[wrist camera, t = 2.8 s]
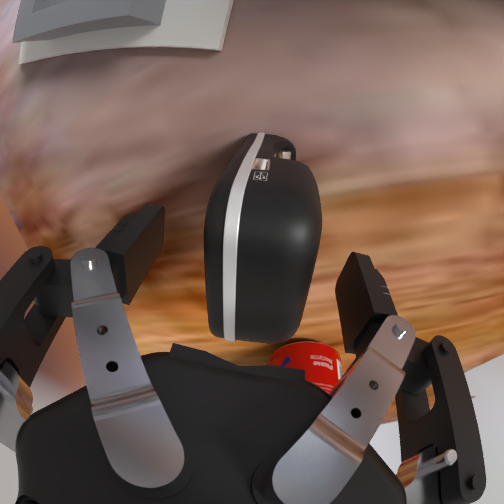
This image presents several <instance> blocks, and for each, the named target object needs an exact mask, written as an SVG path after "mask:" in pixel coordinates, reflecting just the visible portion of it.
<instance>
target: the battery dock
mask: <svg viewBox="0 0 504 504" xmlns="http://www.w3.org/2000/svg"><path fill="white" fill-rule="evenodd" d="M233 2H234V0H21V3H20V7H19V11H18V15H17V20H16V25H15V30H14V36H13V42H12V43H16V42H21V48H20V56H19V64H24V63H29V62H33V61H37V60H41V59H46V58H51V57H56V56H61V55H67V54H73V53H79V52H87V51H95V50H105V49H118V48H138V47H171V48H192V49H205V50H215V51H222V48H223V44H224V39H225V35H226V30H227V26H228V22H229V18H230V14H231V10H232V6H233Z"/></svg>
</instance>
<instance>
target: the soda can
mask: <svg viewBox="0 0 504 504" xmlns="http://www.w3.org/2000/svg"><path fill="white" fill-rule="evenodd" d="M268 365H276V366H282V367H289V368H295V369H302V370H305V380H307V381H310V382H312V383H314V384H316V385H317V386H319V387H320V388H322V389H323V390H324V391H326V392H327V393H329V392H330V391H331V389H332V388H333V387H334V386H335V384H336V383H337V382H338V381H339V379H340V378H341V377H342V375H343V374H342V365H341V358H340V355H339V353H338V352H337V351H336V350H335V349H334V348H333V347H331V346H329V345H327V344H324V343H320V342H313V341H301V342H295V343H290V344H287V345H285V346H282V347H280V348H279V349H277V350H276V351H275V352H274V353H273V354H272V355H271V356H270V358H269V362H268Z"/></svg>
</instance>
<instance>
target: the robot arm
mask: <svg viewBox="0 0 504 504" xmlns="http://www.w3.org/2000/svg"><path fill="white" fill-rule="evenodd" d="M164 216H165V209H164V207H162V206H157V205H152V204H145V206H144V207H143V208H142V209H141V210H140V211H139V212H138V213H134V212H133V213H131V214H129V215H127V216H125V217H123V218H122V219H121V220H120V221H119V222H118V223H117V225H115V227H114V228H113V229H112V231H110V232H109V233H108V234H107V235H106V236H105V237H104V239H103V240H102V241H101V242H100V243H99V244H98V245H97V246H96V248H87V249H83V250H81V251H79V252H77V253H76V254H75V255H74V256H73V257H72V259H71V260H62V259H54V258H53V254H52V251H51V250H50V249H49V248H48V247H44V246H38V247H34V248H31V249H29V250H27V251H26V252H25V253H24V254H23V255H22V256H21V257H20V258H19V259H18V260H17V262H16V263H15V264H14V265H13V266H12V267H11V269H10V270H9V271H8V272H7V273H6V274H5V275H4V277H3V278H2V279H1V281H0V442H1V443H3V444H4V445H5V446H7V447H8V448H10V449H11V450H13V451H14V452H16V458H17V465H18V474H19V475H18V476H19V492H18V497H17V501H16V503H15V504H470V503H473V502H475V501H477V500H478V499H479V498H480V497H481V496H482V494H483V492H484V490H485V486H486V474H485V465H484V458H483V451H482V445H481V440H480V434H479V429H478V424H477V420H476V416H475V411H474V407H473V403H472V399H471V396H470V392H469V388H468V385H467V381H466V378H465V375H464V372H463V369H462V366H461V362H460V360H459V357H458V354H457V351H456V348H455V347H454V345H453V344H452V343H451V341H450V340H448V339H447V338H445V337H443V336H440V335H438V336H435V337H434V338H433V339H432V340H431V341H430V342H429V343H428V342H426V341H423V340H421V339H419V338H417V337H416V335H415V331H414V329H413V327H412V326H411V324H410V323H409V322H408V321H407V320H405V319H404V318H402V317H400V316H398V314H397V312H396V309H395V306H394V303H393V301H392V298H391V295H389V294H390V293H389V290H388V288H387V285H386V283H385V280H384V278H383V276H382V275H381V274H380V273H379V272H378V270H377V269H374V266H373V264H372V261H371V259H370V257H369V256H368V255H364V254H360V253H356V252H352V253H351V254H350V255H349V257H348V259H347V261H346V263H345V266H344V268H343V270H342V272H341V274H340V276H339V278H338V280H337V283H336V288H335V294H336V299H337V305H338V311H339V316H340V322H341V328H342V335H343V341H344V348H345V353H353V354H356V358H355V360H354V361H353V362H352V363H351V365H350V366H349V367H348V369H347V370H346V371H345V373H344V374H343V375H342V377H341V378H340V379H339V381H338V382H337V383H336V384H335V386H334V387H333V388H332V389H331V391H330V392H329V393H327V392H326V391H324V390H323V389H322V388H320V387H319V386H317V385H316V384H314V383H312V382H310V381H307V380H305V370H302V369H295V368H289V367H282V366H276V365H266V366H237V365H234V364H232V363H230V362H228V361H225V360H223V359H221V358H219V357H217V356H215V355H212V354H210V353H208V352H206V351H203V350H198V349H194V348H190V347H187V346H183V345H179V344H175V343H173V345H172V348H171V350H170V352H156V353H150V354H146V355H142V356H140V354H139V351H138V349H137V346H136V343H135V340H134V338H133V335H132V332H131V329H130V326H129V323H128V320H127V317H126V314H125V310H124V307H123V304H122V303H124V304H127V305H129V304H130V303H131V301H132V299H133V297H134V295H135V294H136V292H137V290H138V288H139V287H140V285H141V283H142V281H143V280H144V278H145V276H146V275H147V273H148V271H149V269H150V268H151V266H152V264H153V263H154V261H155V259H156V258H157V256H158V254H159V253H160V251H161V248H162V244H163V236H164ZM33 300H34V303H35V304H34V305H33V307H32V308H31V310H30V311H29V313H28V314H27V316H26V317H25V319H24V315H25V312H26V310H27V309H28V307H29V306H30V304H31V303H32V301H33ZM66 317H73V320H74V326H75V333H76V339H77V345H78V350H79V355H80V360H81V365H82V369H83V374H84V378H85V382H86V386H84V387H82V388H80V389H79V390H77V391H75V392H73V393H71V394H69V395H67V396H65V397H63V398H61V399H60V400H58V401H56V402H54V403H52V404H50V405H48V406H46V407H44V408H42V409H40V410H38V411H36V412H35V413H33V414H32V415H31V413H32V411H33V408H32V402H33V396H32V392H31V389H30V386H31V383H32V381H33V379H34V377H35V375H36V373H37V371H38V368H39V366H40V364H41V362H42V360H43V358H44V356H45V354H46V352H47V350H48V348H49V347H50V345H51V343H52V341H53V339H54V337H55V335H56V334H57V332H58V330H59V328H60V326H61V325H62V323H63V321H64V319H65V318H66ZM431 384H432V386H433V390H434V395H435V404H434V406H433V408H432V409H431V410H430V409H429V403H428V398H427V393H426V389H427V388H428V387H429V386H430V385H431ZM394 397H395V400H396V407H397V415H398V423H399V434H400V446H401V461H402V463H401V465H400V467H399V469H398V472H397V474H396V475H395V474H394V473H393V472H392V470H391V469H390V468H389V467H388V466H387V465H386V463H385V462H384V461H383V460H382V458H381V457H380V456H379V455H378V454H377V452H376V451H375V450H374V449H373V447H372V446H371V445H370V444H369V442H370V440H371V439H372V437H373V435H374V434H375V432H376V430H377V428H378V427H379V425H380V423H381V422H382V420H383V418H384V416H385V414H386V413H387V411H388V409H389V407H390V405H391V403H392V401H393V399H394Z"/></svg>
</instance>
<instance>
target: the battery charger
mask: <svg viewBox="0 0 504 504" xmlns="http://www.w3.org/2000/svg"><path fill="white" fill-rule="evenodd" d="M321 231H322V212H321V203H320V197H319V191H318V187H317V183H316V181H315V178H314V176H313V174H312V172H311V170H310V169H309V167H308V166H306V165H305V164H303V163H301V162H299V161H296V150H295V147H294V145H293V144H292V143H291V142H290V141H289V140H287V139H285V138H283V137H279V136H276V135H267V134H265V133H258V134H255V133H253V134H249V135H248V136H247V138H246V140H245V142H244V143H243V145H242V146H241V147H240V149H239V150H238V151H237V152H236V154H235V155H234V156H233V158H232V159H231V160H230V162H229V163H228V165H227V166H226V168H225V170H224V171H223V173H222V174H221V176H220V178H219V180H218V181H217V183H216V185H215V187H214V189H213V191H212V193H211V196H210V199H209V203H208V206H207V211H206V217H205V227H204V264H205V285H206V299H207V311H208V322H209V328H210V331H211V333H212V334H213V335H214V336H216V337H220V338H225V340H226V341H233V342H236V340H242V341H250V342H259V343H268V344H272V343H282V342H285V341H287V340H289V339H290V338H291V337H292V336H293V335H294V334H295V332H296V331H297V329H298V327H299V325H300V322H301V319H302V315H303V311H304V307H305V304H306V300H307V296H308V292H309V288H310V284H311V280H312V275H313V271H314V267H315V262H316V258H317V253H318V249H319V244H320V238H321Z"/></svg>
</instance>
